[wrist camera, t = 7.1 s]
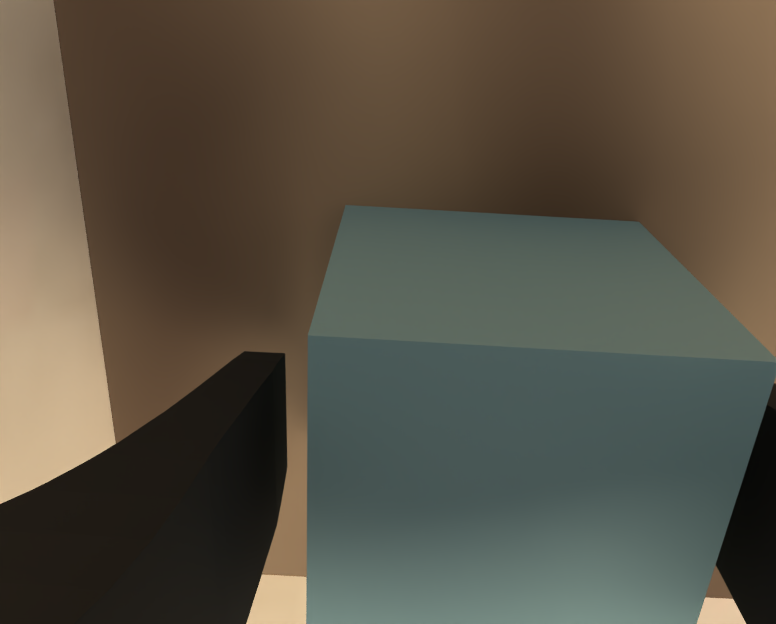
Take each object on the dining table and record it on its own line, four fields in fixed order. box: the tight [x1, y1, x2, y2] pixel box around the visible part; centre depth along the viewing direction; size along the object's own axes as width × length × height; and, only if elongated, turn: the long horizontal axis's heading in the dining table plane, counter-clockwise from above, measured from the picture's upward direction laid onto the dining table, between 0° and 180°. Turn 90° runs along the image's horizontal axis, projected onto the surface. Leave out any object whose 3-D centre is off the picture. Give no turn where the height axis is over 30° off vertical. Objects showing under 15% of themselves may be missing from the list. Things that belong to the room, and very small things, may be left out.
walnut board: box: [54, 0, 776, 599], centre depth 14 cm, size 14×12×1 cm
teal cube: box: [306, 205, 776, 624], centre depth 11 cm, size 5×5×5 cm
